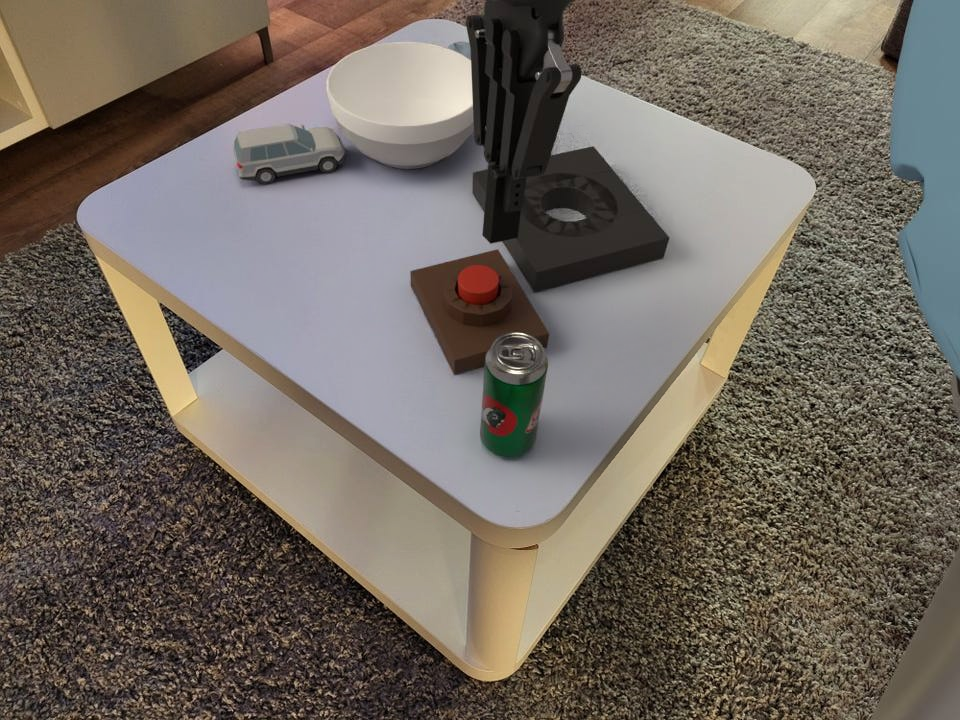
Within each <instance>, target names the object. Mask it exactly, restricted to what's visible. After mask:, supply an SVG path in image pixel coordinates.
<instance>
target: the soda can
mask: <svg viewBox="0 0 960 720" xmlns="http://www.w3.org/2000/svg"><path fill="white" fill-rule="evenodd" d="M483 367H484V369H483V383H482V398H481V399H482V400H481V416H480V430H479V438H480V440H481V443H482V444H483V446H484V447H485V448H486V450H487V451H489V452H490V453H492V454H493V455H495V456H497V457H501V458H506V459H513V458H518V457H521V456H523V455H525V454H527V453H529V452H530V451H531V450H532V448H534V445H535V443H536V441H537V435H538V429H539V424H540V418H541V411H542V405H543V399H544V392H545V387H546V381H547V376H548V375H547V374H548V368H549V359H548V357H547V354H546V352H545V348H543V346H542V345H541V343H540V342H539V341H538V340H537V339H535V338H534V337H532V336H530V335H528V334H524V333H518V332H513V333H508V334H504V335H502V336H500V337H499V338H497V339H496V340H495V341H494V342H493V344H492V346H491V347H490V348H489V349H488V351H487V353H486V356H485V366H483Z"/></svg>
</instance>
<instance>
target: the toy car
mask: <svg viewBox="0 0 960 720" xmlns="http://www.w3.org/2000/svg"><path fill="white" fill-rule="evenodd" d="M300 124H301V125H300V126H301V127H299V126H296V125H293V124H290V123H285V124H280V125H278V124H277V125H272V126H265V127H260V128H259V127H258V128H253V129H248V130H242V131H238V132H237V134H236V137H235V140H234V143H233V156H234V161H235V164H236V169H237V172H238V176H239V178H240V180H243V181H256V180H257V182H259V183H261V184H262V185H265V184H266V185H268V184H271V183H273V182H274V180H275V179H276V177H283V176H289V175H295V174H299V173H305V172H310V171H317V170H320V171H321V172H322V173H326V174H329V173H332V172H334V171H335V169H336V168H337V167H338V165H340V164H343V163H344V161H345V158H346V151H345V147H344V145H343V143H342V140H341V137H340V136H339V135H338V133H337V132H336V131H335V130H334V129H332V128H331V127H328V126H319V127H313V128H309V129H306V128H305V125H304V123H300Z"/></svg>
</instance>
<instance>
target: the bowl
mask: <svg viewBox="0 0 960 720" xmlns="http://www.w3.org/2000/svg"><path fill="white" fill-rule="evenodd" d="M325 90H326V94H327V98H328V102H329V107H330V110H331V113H332V115H333V117H334V120H335V122H336V124H337V127H338V129H339V131H340V133H342V135H343V136H344V137H345V139H346V140H347V141H348V142H350V143H351V145H352V146H353V147H354V148H356V149H357V150H358V151H359V152H361V153H362V154H363V155H364V156H367V157H368V158H370V159H372V160H375V161H377V162H379V163H380V164H382V165H385V166H387V167H391V168H396V169H401V170H402V169H403V170H414V169H415V170H416V169H421V168H426V167H429V166H432V165H435V164H436V163H438V162H440V161H441V160H443V159H444V158H447V157H449V156H450V155H452V154H453V153H455V152H457V150H458V149H459V148H460V147H461V146H462V145H463V144H464V143H465V142H466V140H467V139H468V138H470V136H471V134H473V133H474V120H473V96H472V72H471V60H469V59H468V58H466V57H465V56H463V55H462V54H460V53H458V52H455V51H453V50H451V49H448V47H445V46H441V45H437V44H432V43H427V42H416V41H393V42H392V41H391V42H384V43H383V42H382V43H378V44H374V45H370V46H366V47H363V48H360V49H358V50H355V51H353V52H351V53H349V54H347V55H346V56H344V57H343V58H341V59H340V60H339V61H337V63H335V65H334V66H333V67H332V68H331V69H330V71H329V73H328V76H327V78H326V86H325Z"/></svg>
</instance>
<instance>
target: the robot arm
mask: <svg viewBox="0 0 960 720" xmlns="http://www.w3.org/2000/svg"><path fill="white" fill-rule="evenodd" d="M575 1H576V0H484V6H483V7H484V8H483V12H481V13H479V14H471V15H470V14H468V15H467V16H466V19H465V27H466V33H467V37H468V42H469V43H470V48H471V72H472V96H473V120H474V130H473V138H474V139H473V140H474V143H475V145H476V146H477V147H481V146H482V147H483V157H484V161H485V162H486V163H487V169H488V170H487V182H486V199H485V211H483V224H482V235H481V236H482V237H483V238H484V239H485V240H486V241H487V242H488V243H489V245H492V244H497V243H500V242H503V241H505V240H510V239H514V238H518V231H519V223H520V215H521V209H522V207H523V202H524V200H523V199H524V194H525V186H526V179H527V178H528V177H533V176H539V175H543V174H545V172H546V168H547V165H548V162H549V159H550V156H551V155H552V152H553V149H554V145H555V143H556V140H557V136H558V133H559V130H560V127H561V124H562V121H563V117H564V114H565V111H566V108H567V104H568V101H569V99H570V96H571V95H572V92H574V90H575V88H577V85H578V84H579V83H580V81H581V79H582V69H581V66H580V65H579V64H576V63H574V64H569V63H568V62H567V59H566V57H565V54H564V53H563V50H562V48H563V45H564V40H565V31H564V12H565V11H566V8H567V7H568V6H569V5H570V4H572V3H573V2H575ZM894 82H895V83H894V89H893V95H892V105H891V111H890V113H891V114H890V126H889V128H890V129H889V161H890V162H889V164H890V166H889V167H890V169H891V171H892V173H893V174H894V175H895V176H896V177H897V178H898V179H901V180H907V181H914V182H918V183H919V185H920V188H921V192H922V196H923V199H922V202H921V204H920V206H919V207H918V208H919V209H918V210H917V212H916V214H915V216H913V218H911V220H910V221H909V222H908V223H907V224H906V225H905V226H904V228H902V229H901V230H899V232H898V236H897V239H896V240H897V243H898V247H899V251H900V254H901V258H902V262H903V266H904V269H905V273H906V276H907V278H908V282H909V284H910V287H911V290H912V292H913V295H914V299H915V300H916V303H917V305H918V307H919V309H920V312H921V314H922V316H923V318H924V320H925V323H926V325H927V327H928V328H929V331H930V333H931V335H932V338H933V339H934V341H935V343H936V345H937V347H938V349H939V350H940V352H941V354H942V355H943V358H944V359H945V361H946V362H947V364H948V366H949V367H950V369H951V370H952V375H951V379H950V386H951V397H952V405H953V409H954V411H955V415H956V417H957V420H958V424H959V425H960V0H913V2H912V4H911V8H910V12H909V15H908V20H907V24H906V27H905V32H904V36H903V41H902V45H901V50H900V54H899V59H898V63H897V69H896V75H895V81H894ZM869 720H960V545H959V546H958V548H957V550H956V552H955V554H954V555H953V558H952V560H951V561H950V564H949V565H948V568H947V570H946V572H945V573H944V575H943V577H942V579H941V581H940V583H939V585H938V587H937V589H936V591H935V593H934V595H933V597H932V598H931V601H930V603H929V605H928V607H927V609H926V610H925V612H924V614H923V616H922V617H921V620H920V621H919V624H918V625H917V628H916V630H915V631H914V634H913V635H912V637H911V639H910V642H909V643H908V645H907V646H906V649H905V651H904V653H903V655H902V657H901V659H900V660H899V663H898V664H897V666H896V669H895V670H894V672H893V674H892V676H891V678H890V680H889V682H888V684H887V686H886V688H885V689H884V692H883V694H882V696H881V698H880V700H879V701H878V703H877V705H876V707H875V709H874V711H873V713H872V715H871V717H870V719H869Z"/></svg>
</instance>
